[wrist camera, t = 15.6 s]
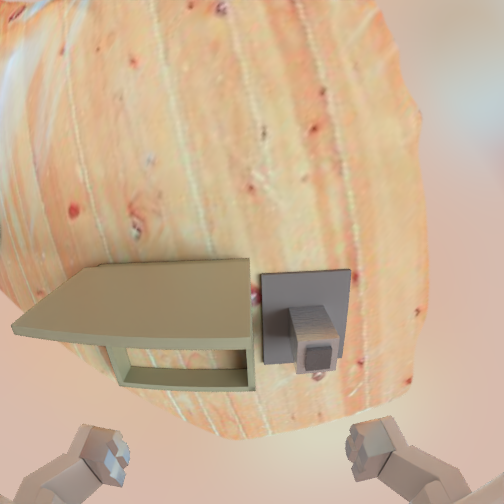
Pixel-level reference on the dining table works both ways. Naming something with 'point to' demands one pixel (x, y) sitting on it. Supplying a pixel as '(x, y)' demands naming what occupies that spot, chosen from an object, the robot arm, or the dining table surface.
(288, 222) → the dining table surface
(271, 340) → the rubber mat
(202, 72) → the dining table surface
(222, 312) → the olive open box frame
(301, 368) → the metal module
